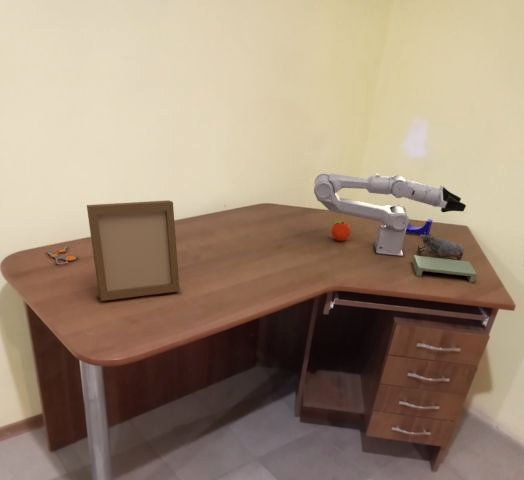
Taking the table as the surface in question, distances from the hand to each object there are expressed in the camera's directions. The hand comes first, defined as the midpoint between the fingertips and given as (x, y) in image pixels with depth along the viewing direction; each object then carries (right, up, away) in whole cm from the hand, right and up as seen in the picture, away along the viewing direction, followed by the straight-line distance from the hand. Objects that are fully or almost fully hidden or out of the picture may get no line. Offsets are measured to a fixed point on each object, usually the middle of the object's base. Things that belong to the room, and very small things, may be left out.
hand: (462, 204), depth 176 cm
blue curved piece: (-8, -3, +30) cm, 31 cm away
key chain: (-131, -20, -13) cm, 133 cm away
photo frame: (-105, -31, -26) cm, 112 cm away
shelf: (-7, -23, 0) cm, 24 cm away
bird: (-5, -16, +10) cm, 20 cm away
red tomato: (-40, -9, +17) cm, 44 cm away
